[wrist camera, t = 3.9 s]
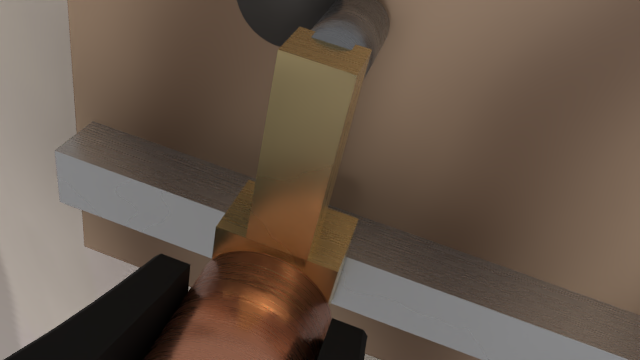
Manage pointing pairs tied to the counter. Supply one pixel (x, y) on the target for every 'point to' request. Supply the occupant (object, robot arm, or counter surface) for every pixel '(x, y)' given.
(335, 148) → the sliding leg
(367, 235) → the steel beam
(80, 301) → the counter surface
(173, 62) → the hole plate
